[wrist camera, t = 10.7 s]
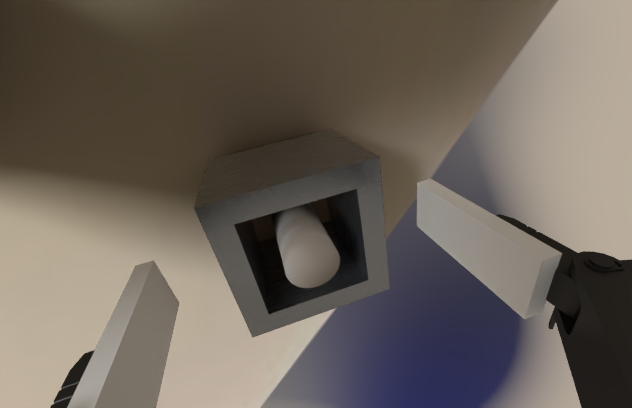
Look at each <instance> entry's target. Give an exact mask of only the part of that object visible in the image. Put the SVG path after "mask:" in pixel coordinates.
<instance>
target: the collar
mask: <svg viewBox="0 0 632 408" xmlns="http://www.w3.org/2000/svg"><path fill="white" fill-rule="evenodd" d="M323 198H326V200H327V206H328V211H329V216H330V220H329V221H326V222H323V223H322V225H323V227H324V228H325V230H326V232H327V234H328V235H329V237H330V239H331V241H332V242H333V244H334V246H335V248H336V249H337V251H338V253H339V256H340V264H339V268H338V270H337V272H336V273H335V275H334V276H333V277H332V278H331V279H330V280H329V281H327V282H326V283H324V284H322V285H320V286H317V287H313V288H301V287H298V286H295V285H294V284H292V283H291V282H290V281H289V280H288V278H287V277H286V274H285V270H284V266H283V262H282V258H281V253H280V249H279V245H278V241H277V237H273V238H270V239H267V240H264V241H260V242H259V241H258V238H257V235H256V232H255V229H254V226H253V223H252V221H251V219H255V218H258V217H262V216H265V215H268V214H272V213H275V212H279V211H282V210H286V209H289V208H292V207H296V206H299V205H303V204H306V203H310V202H313V201H317V200H320V199H323ZM194 209H195V211H196V214H197V216H198V218H199V220H200V222H201V225H202V227H203V229H204V231H205V233H206V236H207V238H208V240H209V242H210V244H211V247H212V249H213V251H214V253H215V255H216V258H217V260H218V262H219V264H220V266H221V269H222V271H223V273H224V275H225V277H226V280H227V282H228V284H229V286H230V289H231V291H232V293H233V295H234V297H235V300H236V302H237V304H238V306H239V308H240V311H241V313H242V315H243V317H244V319H245V322H246V324H247V326H248V328H249V330H250V333H251V335H252V337H255V336H258V335H261V334H264V333H266V332H269V331H272V330H275V329H278V328H281V327H283V326H286V325H289V324H292V323H295V322H298V321H300V320H303V319H306V318H309V317H312V316H315V315H317V314H320V313H323V312H326V311H329V310H332V309H334V308H337V307H340V306H343V305H346V304H348V303H351V302H354V301H357V300H359V299H362V298H365V297H368V296H371V295H374V294H377V293H380V292H382V291H385V290H388V289H390V286H389V272H388V261H387V247H386V235H385V222H384V210H383V197H382V184H381V172H380V159H379V156H377V155H375V154H373V153H372V152H370V151H368V150H367V149H365V148H363V147H361V146H360V145H358V144H356V143H355V142H353V141H351V140H350V139H348V138H346V137H344V136H343V135H341V134H339V133H338V132H336V131H334V130H332V129H328V130H324V131H320V132H316V133H312V134H308V135H304V136H300V137H296V138H292V139H288V140H284V141H281V142H277V143H273V144H269V145H265V146H261V147H257V148H253V149H249V150H245V151H241V152H237V153H233V154H229V155H225V156H221V157H217V158H213V159H209V162H208V165H207V168H206V171H205V175H204V178H203V181H202V184H201V187H200V191H199V194H198V197H197V200H196V203H195V207H194Z"/></svg>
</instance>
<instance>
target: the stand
mask: <svg viewBox="0 0 632 408" xmlns="http://www.w3.org/2000/svg"><path fill="white" fill-rule="evenodd" d="M329 220H330V216H329V211H328V206H327V200H326V198H323V199H320V200H317V201H313V202H310V203H306V204H303V205H299V206H296V207H292V208H289V209H286V210H282V211H279V212H275V213H272V214H268V215H265V216H262V217H258V218H255V219H251V221H252V223H253V226H254V229H255V232H256V235H257V238H258V241H259V242H260V241H264V240H267V239H270V238H273V237H277V241H278V245H279V249H280V253H281V258H282V262H283V266H284V270H285V274H286V277H287V278H288V280H289V281H290V282H291V283H292V284H294V285H295V286H298V287H301V288H313V287H317V286H320V285H322V284H324V283H326V282H327V281H329V280H330V279H331V278H332V277H333V276H334V275H335V273H336V272H337V270H338V268H339V264H340V256H339V253H338V251H337V249H336V248H335V246H334V244H333V242H332V241H331V239H330V237H329V235H328V234H327V232H326V230H325V228H324V227H323V225H322V223H323V222H326V221H329Z"/></svg>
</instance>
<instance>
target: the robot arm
mask: <svg viewBox="0 0 632 408" xmlns="http://www.w3.org/2000/svg"><path fill="white" fill-rule="evenodd" d="M417 227H418V228H420V229H421V230H422V231H423V232H424V233H425V234H427V235H428V236H429V237H430V238H432V240H433V241H435V242H436V243H437V244H438V245H439V246H440V247H442V248H443V249H444V250H445V251H446V252H447V253H449V254H450V255H451V256H452V257H453V258H454V259H456V260H457V261H458V262H459V263H460V264H461V265H462V266H464V267H465V268H466V269H467V270H468V271H469V272H471V273H472V274H473V275H474V276H475V277H476V278H478V279H479V280H480V281H481V282H482V283H483V284H484V285H486V286H487V287H488V288H489V289H490V290H491V291H493V292H494V293H495V294H496V295H497V296H498V297H499V298H501V299H502V300H503V301H504V302H505V303H506V304H508V305H509V306H510V307H511V308H512V309H513V310H515V311H516V312H517V313H518V314H519V315H520V316H521V317H523V318H524V319H526V318H529V317H531V316H534V315H536V314H539V313H541V312H542V311H543V308H544V305H545V303H546V300H547V301H549V302H550V303H551V304H553V305H554V306H555V308H554V311H553V313H552V316H551V319H550V321H549V329H553V327H554V324H555V323H557V327H558V331H559V333H560V337H561V340H562V343H563V347H564V350H565V353H566V357H567V360H568V363H569V367H570V370H571V373H572V377H573V380H574V383H575V387H576V390H577V393H578V397H579V400H580V404H581V407H582V408H632V260H618V259H616V258H614V257H611V256H608V255H606V254H602V253H597V252H580V253H577V252H575V251H573V250H571V249H569V248H568V247H566V246H564V245H562V244H560V243H558V242H557V241H555V240H553V239H551V238H549V237H547V236H545V235H543V234H542V233H540V232H536V230H534V229H532V228H530V227H527V226H526V225H525V224H523V223H521V222H519V221H518V220H516V219H514V218H510V217H507V216H504V215H497V216H495V215H494V214H492V213H490V212H488V211H486V210H485V209H483V208H481V207H480V206H478V205H476V204H474V203H472V202H471V201H469V200H467V199H465V198H464V197H462V196H460V195H458V194H457V193H454V192H453V191H451V190H449V189H447V188H446V187H444V186H442V185H441V184H439V183H437V182H435V181H434V180H432V179H427V180H424V181H420V182H417ZM178 306H179V302H178V300H177V298H176V297H175V295H174V293H173V292H172V290H171V288H170V287H169V285H168V283H167V282H166V280H165V278H164V277H163V275H162V273H161V272H160V270H159V269H158V267H157V265H156V264H155V262H154V260H153V261H150V262H147V263H143V264H140V265H137V266H135V268H134V270H133V272H132V274H131V276H130V278H129V280H128V283H127V285H126V287H125V289H124V291H123V293H122V295H121V297H120V299H119V301H118V303H117V305H116V307H115V309H114V312H113V314H112V316H111V318H110V320H109V322H108V324H107V326H106V328H105V330H104V332H103V334H102V336H101V338H100V341H99V343H98V345H97V347H96V349H95V350H94V351H91V352H88V353H85V354H84V355H83V356H82V357H81V358H80V359H79V361H78V362H77V363H76V364H75V365H74V366H73V368H72V369H71V370H70V372H69V374H68V375H67V377H66V379H65V381H64V383H63V385H62V387H61V388H62V389H61V390H60V391H59V392H58V394H57V396H56V398H55V400H54V405H52V406H51V407H50V408H156V405H157V401H158V396H159V392H160V387H161V383H162V378H163V374H164V369H165V365H166V360H167V356H168V351H169V347H170V342H171V338H172V333H173V329H174V324H175V320H176V315H177V311H178Z"/></svg>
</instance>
